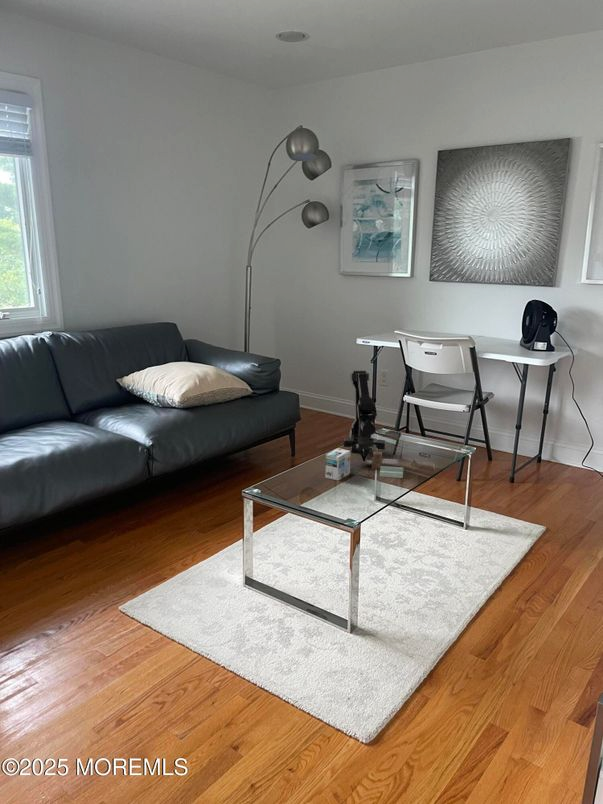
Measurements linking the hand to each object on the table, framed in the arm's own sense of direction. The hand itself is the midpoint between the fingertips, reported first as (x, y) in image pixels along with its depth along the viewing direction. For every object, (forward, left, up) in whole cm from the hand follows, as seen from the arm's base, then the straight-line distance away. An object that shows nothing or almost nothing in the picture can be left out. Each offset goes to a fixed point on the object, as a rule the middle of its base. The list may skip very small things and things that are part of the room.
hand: (363, 461), depth 281 cm
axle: (+8, 0, -2) cm, 8 cm away
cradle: (+13, -9, -2) cm, 16 cm away
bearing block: (+6, 0, -2) cm, 6 cm away
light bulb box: (-10, -16, -2) cm, 19 cm away
